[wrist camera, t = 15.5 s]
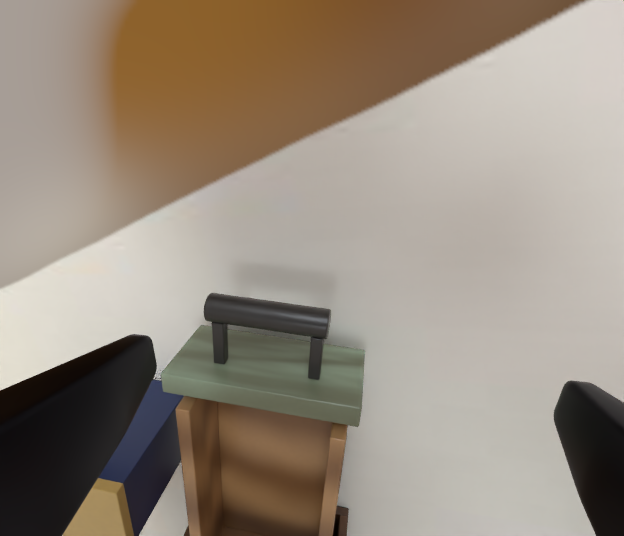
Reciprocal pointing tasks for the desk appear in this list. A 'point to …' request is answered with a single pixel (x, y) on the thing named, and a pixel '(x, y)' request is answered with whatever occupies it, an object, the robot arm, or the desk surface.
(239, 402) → the drawer
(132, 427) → the tea tin
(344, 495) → the desk surface
